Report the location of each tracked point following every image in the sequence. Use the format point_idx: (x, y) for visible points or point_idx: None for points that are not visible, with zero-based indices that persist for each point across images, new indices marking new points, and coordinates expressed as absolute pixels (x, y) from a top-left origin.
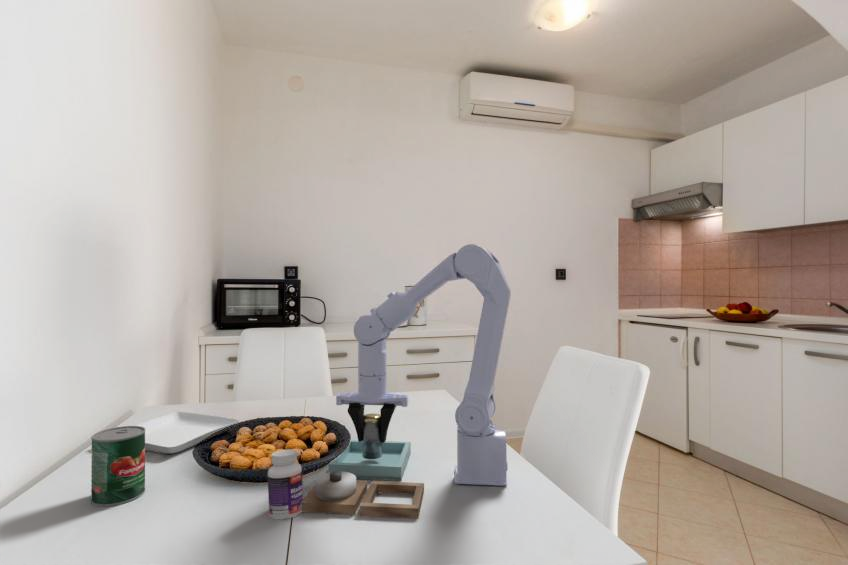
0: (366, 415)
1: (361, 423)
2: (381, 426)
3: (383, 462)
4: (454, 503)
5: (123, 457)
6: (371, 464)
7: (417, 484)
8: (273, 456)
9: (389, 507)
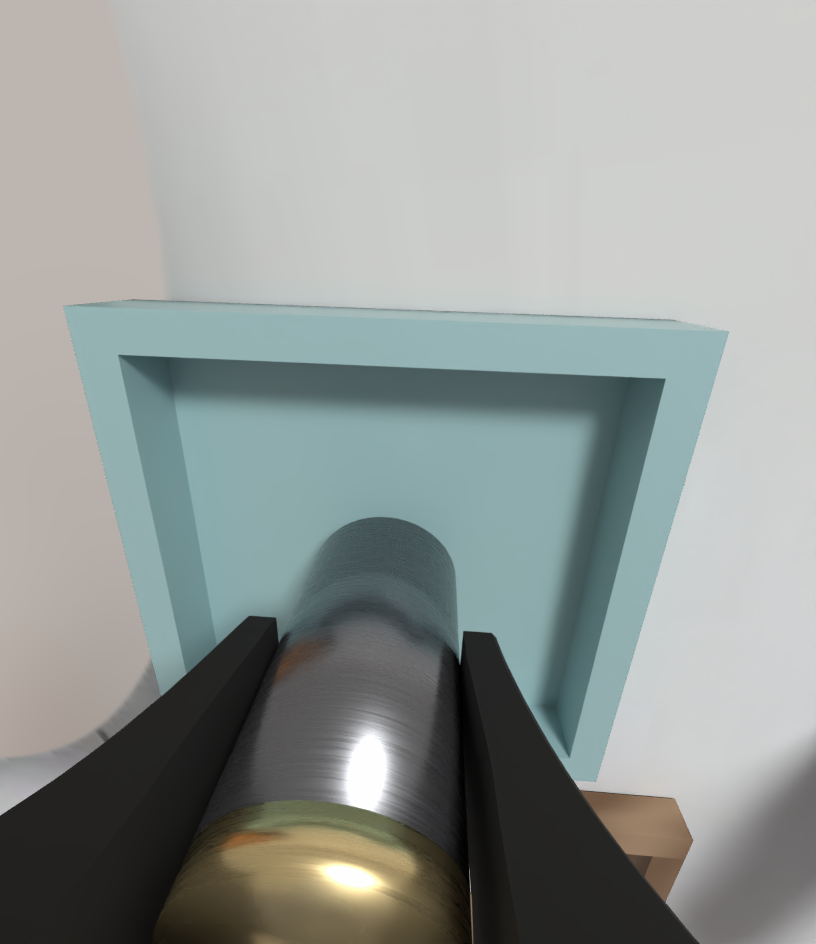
0: (204, 937)
1: (198, 825)
2: (472, 902)
3: (465, 562)
4: (781, 865)
5: None
6: None
7: (658, 849)
8: None
9: None
